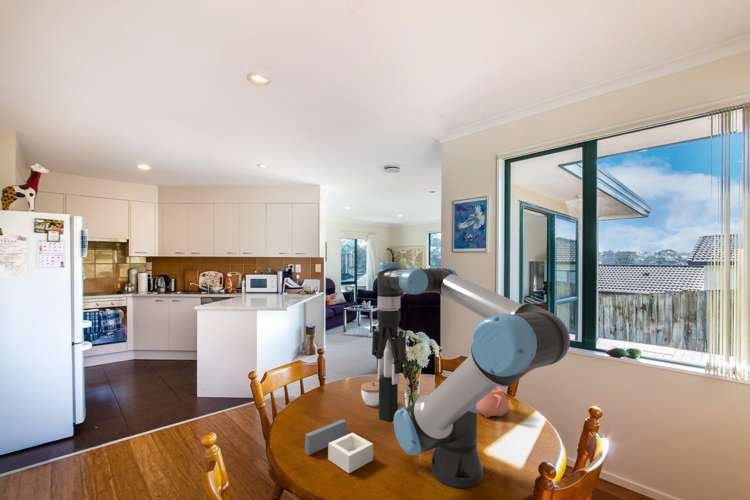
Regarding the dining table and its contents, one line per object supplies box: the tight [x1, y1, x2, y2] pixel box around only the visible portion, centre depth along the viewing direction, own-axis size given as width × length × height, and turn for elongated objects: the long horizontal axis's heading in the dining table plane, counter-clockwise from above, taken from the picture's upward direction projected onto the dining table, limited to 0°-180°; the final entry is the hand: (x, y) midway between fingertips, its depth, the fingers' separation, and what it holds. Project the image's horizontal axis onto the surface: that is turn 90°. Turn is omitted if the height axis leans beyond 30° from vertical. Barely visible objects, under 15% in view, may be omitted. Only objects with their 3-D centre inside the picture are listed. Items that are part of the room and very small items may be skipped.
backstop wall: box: [304, 418, 348, 456], centre depth 117 cm, size 2×16×6 cm, turn 135°
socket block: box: [327, 432, 374, 474], centre depth 108 cm, size 10×10×5 cm
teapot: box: [476, 386, 509, 419], centre depth 144 cm, size 13×20×12 cm, turn 11°
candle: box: [378, 339, 399, 423], centre depth 111 cm, size 5×5×25 cm
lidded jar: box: [360, 381, 379, 407], centre depth 152 cm, size 11×11×9 cm
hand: (388, 380), depth 111 cm, fingers closed on candle, 6 cm apart
